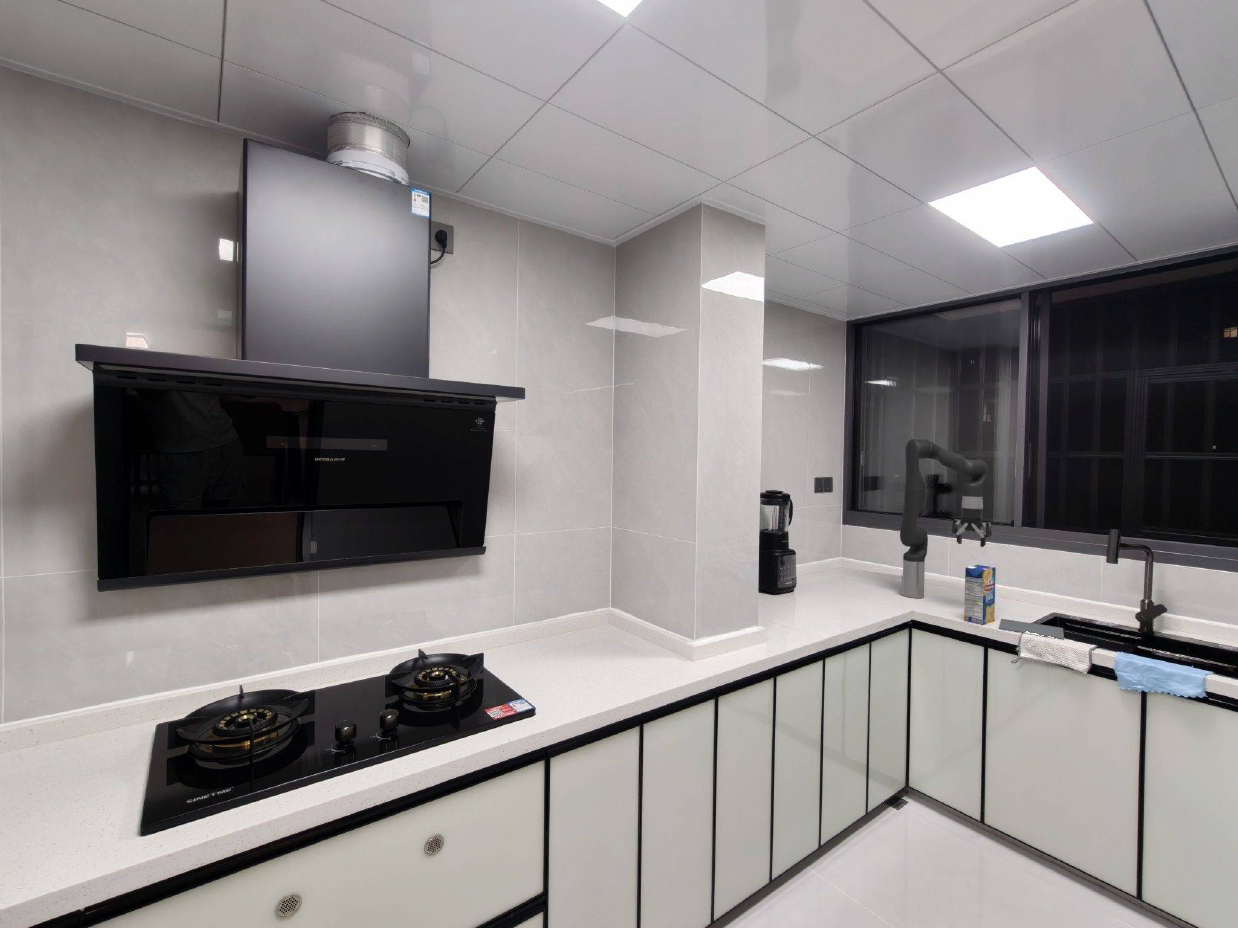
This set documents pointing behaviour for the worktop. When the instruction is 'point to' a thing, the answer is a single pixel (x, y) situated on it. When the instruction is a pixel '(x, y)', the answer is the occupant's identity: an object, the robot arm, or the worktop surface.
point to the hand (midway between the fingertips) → (970, 545)
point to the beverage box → (979, 594)
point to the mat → (1031, 628)
